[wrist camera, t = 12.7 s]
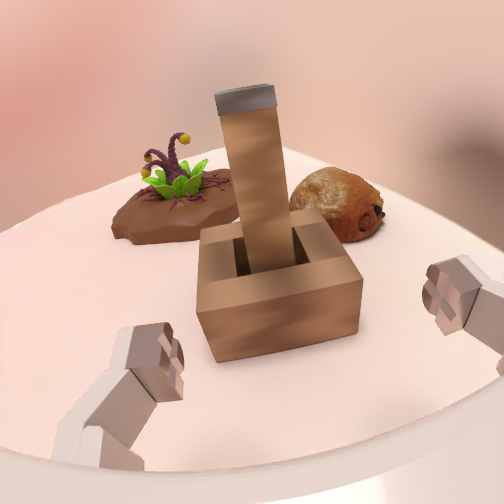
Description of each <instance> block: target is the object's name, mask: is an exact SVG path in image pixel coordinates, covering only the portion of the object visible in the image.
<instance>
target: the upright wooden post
mask: <svg viewBox="0 0 504 504" xmlns="http://www.w3.org/2000/svg"><path fill="white" fill-rule="evenodd" d="M214 96H215V101H216V106H217V110H218V116H220V121H221V126H222V131H223V136H224V141H225V146H226V151H227V156H228V161H229V166H230V171H231V176H232V181H233V186H234V191H235V196H236V201H237V206H238V211H239V216H240V221H241V226H242V231H243V236H244V241H245V246H246V250H247V255H248V260H249V265H250V270H251V274H256V273H261V272H266V271H271V270H276V269H281V268H286V267H291V266H295V258H294V247H293V237H292V228H291V219H290V210H289V201H288V192H287V184H286V176H285V168H284V160H283V152H282V145H281V138H280V131H279V123H278V116H277V110H276V107H277V102H276V95H275V90H274V85H268V84H261V85H253V86H247V87H241V88H235V89H230V90H224V91H219V92H215V94H214Z"/></svg>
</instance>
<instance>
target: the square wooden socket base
mask: <svg viewBox="0 0 504 504" xmlns="http://www.w3.org/2000/svg"><path fill="white" fill-rule="evenodd" d="M290 219H291V228H292V237H293V247H294V258H295V266H291V267H286V268H281V269H276V270H271V271H266V272H261V273H256V274H251V270H250V265H249V260H248V255H247V250H246V246H245V241H244V236H243V231H242V226H241V221H239V222H234V223H229V224H224V225H219V226H214V227H209V228H205V229H201V231H200V246H199V262H198V281H197V304H196V314H197V316H198V319H199V321H200V324H201V326H202V329H203V331H204V334H205V336H206V339H207V341H208V343H209V346H210V348H211V350H212V353H213V355H214V358H215V360H216V362H217V363H218V362H224V361H230V360H236V359H242V358H248V357H253V356H259V355H264V354H269V353H274V352H279V351H284V350H289V349H294V348H298V347H303V346H307V345H311V344H316V343H320V342H324V341H328V340H332V339H336V338H340V337H344V336H348V335H351V334H355V333H357V332H358V324H359V316H360V307H361V298H362V288H363V277H362V276H361V274H360V272H359V271H358V269H357V268H356V266H355V265H354V263H353V261H352V260H351V258H350V257H349V255H348V254H347V252H346V251H345V249H344V247H343V246H342V244H341V243H340V241H339V240H338V238H337V237H336V235H335V234H334V232H333V231H332V229H331V228H330V226H329V225H328V223H327V222H326V220H325V219H324V218H323V216H322V215H321V213H320V212H319V210H318V209H317V207H314V208H308V209H303V210H297V211H292V212H290Z"/></svg>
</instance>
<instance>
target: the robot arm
mask: <svg viewBox="0 0 504 504" xmlns="http://www.w3.org/2000/svg"><path fill="white" fill-rule="evenodd" d="M426 276H427V278H428V280H427V282H426V283H425V284H424V286H423V291H422V299H423V303H424V306H425V308H426V309H427V311H428V312H429V313H431V314H433V315H435V316H436V317H435V322H436V324H437V325H438V327H439V328H440V330H441V331H442V333H443V334H444V336H446V335H448V334H451V333H454V332H456V331H459V330H461V329H464V331H466V332H468V333H469V334H471V335H472V336H474V337H475V338H477V339H478V340H480V341H481V342H483V343H484V344H486V345H487V346H489V347H490V348H492V349H493V350H495V351H496V352H498V353H499V354H500V355H502V358H501V360H500V361H499V363H498V364H497V367H496V369H497V371H498V373H499V374H500V377H499V378H497V379H496V380H494V381H492V382H491V383H489V384H487V385H486V386H484V387H482V388H481V389H479V390H477V391H475V392H474V393H472V394H470V395H468V396H466V397H465V398H463V399H461V400H459V401H457V402H455V403H453V404H451V405H449V406H447V407H445V408H443V409H441V410H439V411H437V412H435V413H432V414H430V415H428V416H426V417H424V418H421V419H419V420H417V421H414V422H412V423H410V424H407V425H405V426H402V427H400V428H397V429H394V430H392V431H389V432H386V433H384V434H381V435H378V436H375V437H372V438H369V439H366V440H363V441H360V442H357V443H354V444H350V445H347V446H344V447H340V448H336V449H333V450H329V451H325V452H321V453H317V454H313V455H309V456H304V457H300V458H295V459H290V460H285V461H279V462H273V463H267V464H261V465H254V466H247V467H238V468H229V469H218V470H204V471H178V472H157V471H144V460H143V459H142V458H141V457H140V456H138V455H137V454H135V453H134V452H133V451H131V450H130V448H131V446H132V444H133V443H134V441H135V440H136V438H137V436H138V435H139V433H140V431H141V430H142V428H143V427H144V425H145V423H146V422H147V420H148V418H149V417H150V415H151V414H152V412H153V410H154V409H155V407H156V406H157V403H160V402H170V401H179V400H183V385H184V381H183V380H182V378H181V377H180V374H181V373H182V371H183V370H184V357H183V351H182V348H181V345H180V343H179V341H178V340H177V339H175V338H173V329H172V328H171V326H170V324H169V323H167V322H164V323H156V324H147V325H139V326H134V327H124V328H121V329H120V330H119V332H118V335H117V339H116V343H115V347H114V351H113V355H112V359H111V363H110V368H109V371H104V372H103V373H102V375H101V376H100V377H99V378H98V379H97V380H96V381H95V382H94V383H93V384H92V386H91V387H90V388H89V389H88V390H87V391H86V392H85V393H84V395H83V396H82V397H81V398H80V399H79V400H78V401H77V402H76V403H75V405H74V406H73V407H72V408H71V409H70V410H69V411H68V413H67V414H66V415H65V416H64V417H63V418H62V419H61V420H60V422H59V425H58V430H57V434H56V439H55V444H54V449H53V454H52V459H51V460H49V459H44V458H40V457H35V456H31V455H27V454H23V453H20V452H16V451H13V450H9V449H6V448H3V447H0V504H504V284H502V283H500V282H497V281H495V282H493V281H492V280H491V279H490V278H489V277H488V276H487V275H486V274H485V273H484V272H483V270H482V269H481V268H480V267H479V266H478V265H477V264H476V263H475V262H474V261H473V260H472V259H471V258H470V257H469V256H467V255H464V254H463V255H460V256H457V257H454V258H451V259H448V260H445V261H441V262H438V263H435V264H431V265H430V266H429V267H428V269H427V273H426Z"/></svg>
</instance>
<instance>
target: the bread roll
mask: <svg viewBox="0 0 504 504" xmlns="http://www.w3.org/2000/svg"><path fill="white" fill-rule="evenodd" d="M383 203H384V201H383V199H382V198H381V197H380V192H379V191H378V190H376V189H375V188H374V187H373V186H372V185H370V184H369V183H367V182H366V181H364V179H363V178H361V177H360V176H358V175H355V174H352V173H348V172H347V171H343V170H342V169H338V168H336V167H325V168H322V169H320V170H317V171H315V172H313V173H311V174H310V175H309V176H307V177H306V178H305V179H304V180H303V181H302V182H301V183H300V184H299V185H298V186H297V187H296V189H295V190H294V192H293V193H292V196H291V198H290V202H289V210H290V212H292V211H297V210H303V209H308V208H314V207H317V209H318V210H319V212H320V213H321V215H322V216H323V218H324V219H325V220H326V222H327V223H328V225H329V226H330V228H331V229H332V231H333V232H334V234H335V235H336V237H337V238H338V240H339V241H340V243H351V242H355V241H358V240H361V239H364V238H367V237H368V236H370V235H371V234H372V233H374V232H375V231H376V229H377V227H378V226H379V225H380V223H381V220H382V218H383V217H384V216H385V213H384V212H382V206H383Z"/></svg>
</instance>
